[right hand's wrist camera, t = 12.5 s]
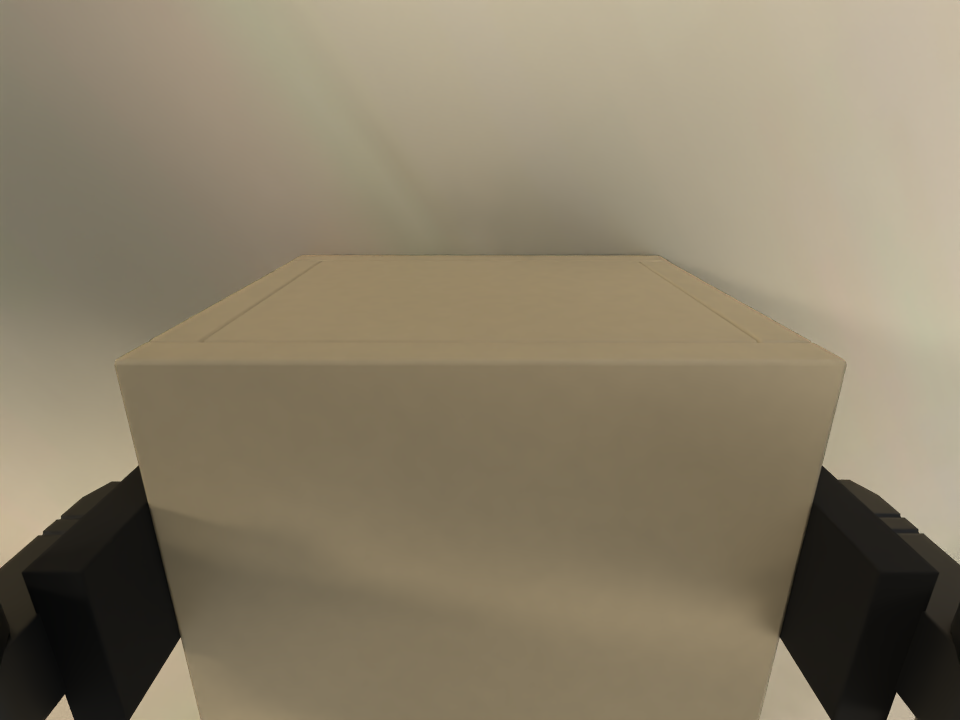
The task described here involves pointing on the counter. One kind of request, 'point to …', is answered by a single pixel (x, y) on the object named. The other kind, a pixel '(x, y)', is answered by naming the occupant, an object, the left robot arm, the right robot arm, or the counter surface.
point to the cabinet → (480, 488)
